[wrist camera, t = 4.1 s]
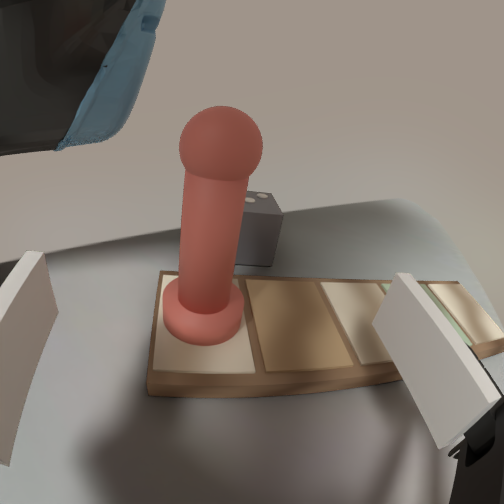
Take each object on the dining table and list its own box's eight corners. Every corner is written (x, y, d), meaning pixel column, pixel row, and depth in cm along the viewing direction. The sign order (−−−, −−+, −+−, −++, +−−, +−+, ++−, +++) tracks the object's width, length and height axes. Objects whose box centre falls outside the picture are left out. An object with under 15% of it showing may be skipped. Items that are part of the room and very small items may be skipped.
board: (148, 395, 15) (146, 380, 14) (160, 283, 23) (160, 268, 22) (503, 351, 21) (511, 341, 20) (452, 290, 29) (458, 279, 29)
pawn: (160, 344, 16) (166, 106, 10) (165, 290, 20) (177, 98, 14) (245, 346, 17) (293, 121, 11) (236, 294, 21) (268, 108, 15)
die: (215, 263, 27) (222, 208, 25) (213, 235, 31) (219, 187, 29) (271, 266, 28) (283, 214, 26) (262, 238, 32) (271, 192, 30)
